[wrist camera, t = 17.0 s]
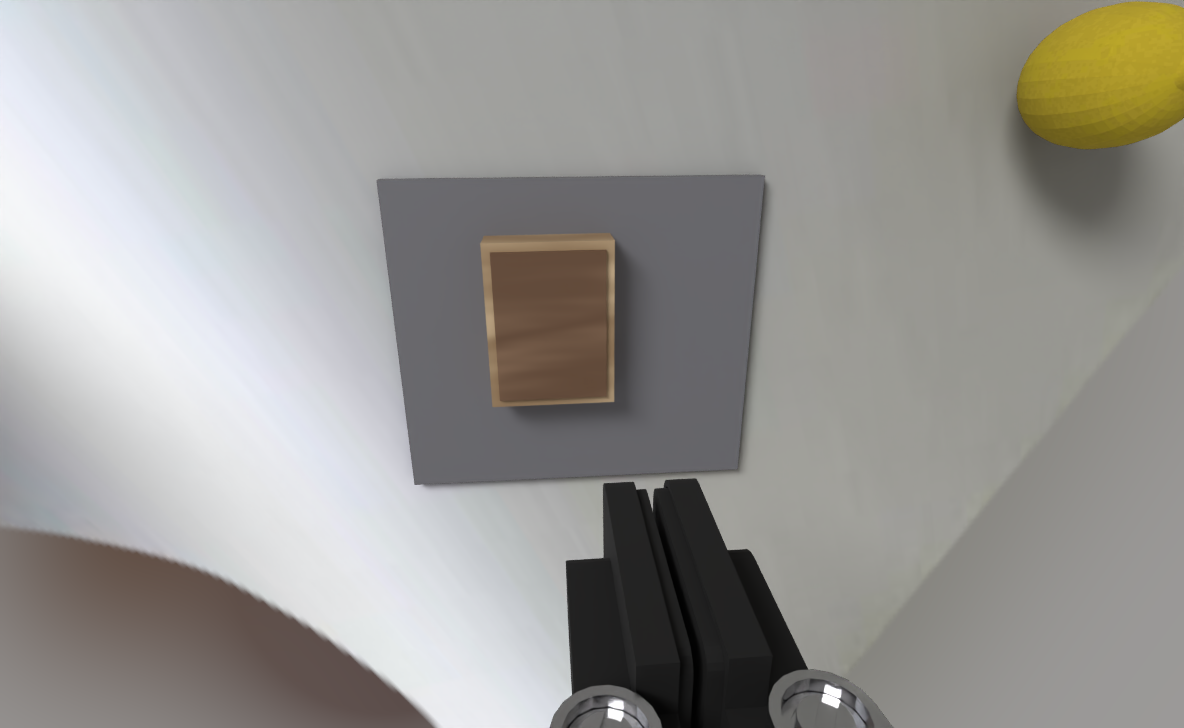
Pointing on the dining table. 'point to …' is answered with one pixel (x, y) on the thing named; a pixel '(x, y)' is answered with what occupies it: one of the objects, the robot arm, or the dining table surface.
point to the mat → (641, 324)
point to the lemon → (1107, 77)
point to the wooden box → (550, 318)
